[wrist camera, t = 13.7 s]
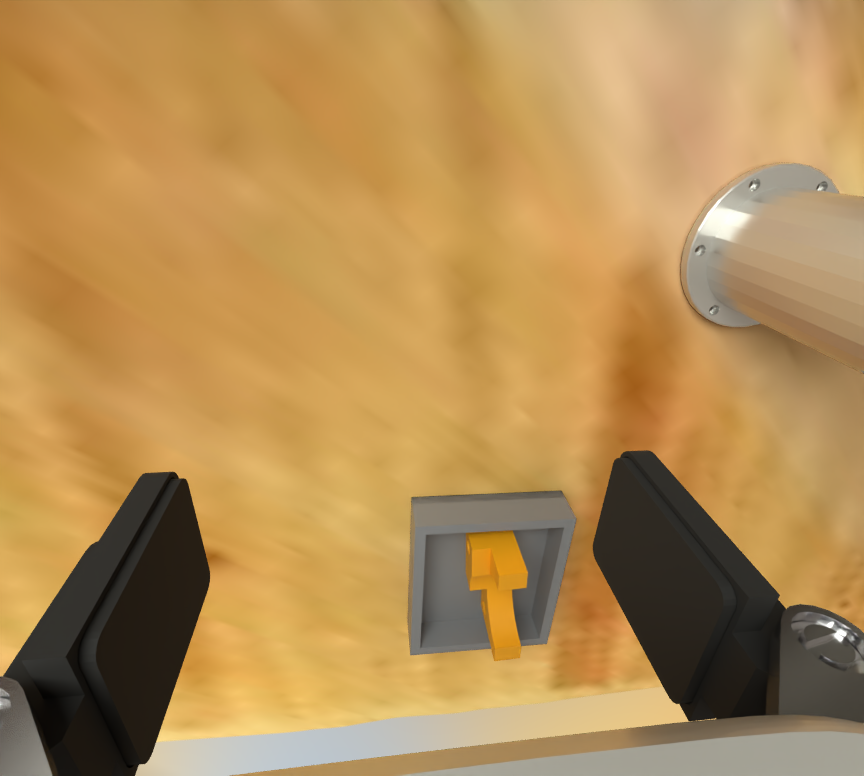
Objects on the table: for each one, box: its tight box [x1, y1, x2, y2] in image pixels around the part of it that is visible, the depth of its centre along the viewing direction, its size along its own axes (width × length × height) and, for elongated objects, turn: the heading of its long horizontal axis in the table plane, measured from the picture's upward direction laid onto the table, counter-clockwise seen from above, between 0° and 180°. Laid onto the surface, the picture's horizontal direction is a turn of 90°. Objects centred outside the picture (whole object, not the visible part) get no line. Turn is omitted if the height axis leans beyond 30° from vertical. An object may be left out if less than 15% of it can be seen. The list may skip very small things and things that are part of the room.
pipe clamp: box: [466, 530, 528, 661], centre depth 48 cm, size 12×4×6 cm, turn 1°
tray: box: [408, 491, 576, 655], centre depth 50 cm, size 15×18×4 cm
